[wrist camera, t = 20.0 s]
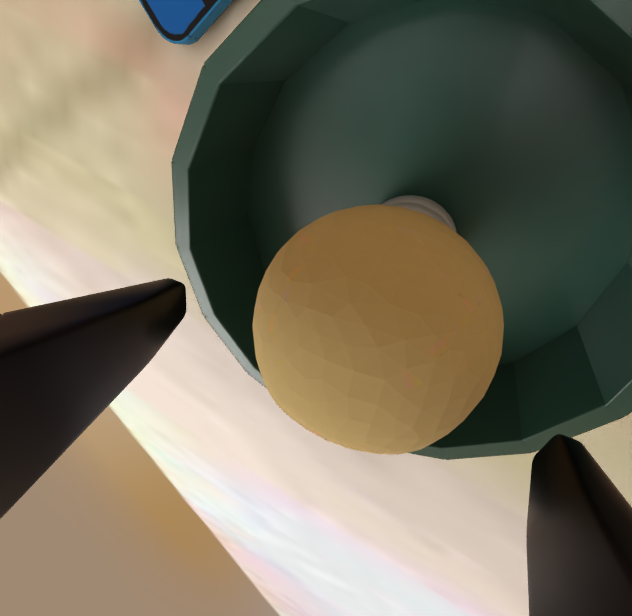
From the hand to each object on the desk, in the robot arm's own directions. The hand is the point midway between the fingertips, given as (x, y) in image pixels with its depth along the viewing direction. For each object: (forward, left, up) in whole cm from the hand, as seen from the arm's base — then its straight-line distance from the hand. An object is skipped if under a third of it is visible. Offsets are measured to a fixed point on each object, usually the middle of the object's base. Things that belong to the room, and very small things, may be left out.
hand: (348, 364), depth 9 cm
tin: (0, 0, -9) cm, 9 cm away
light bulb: (0, 0, -9) cm, 9 cm away
